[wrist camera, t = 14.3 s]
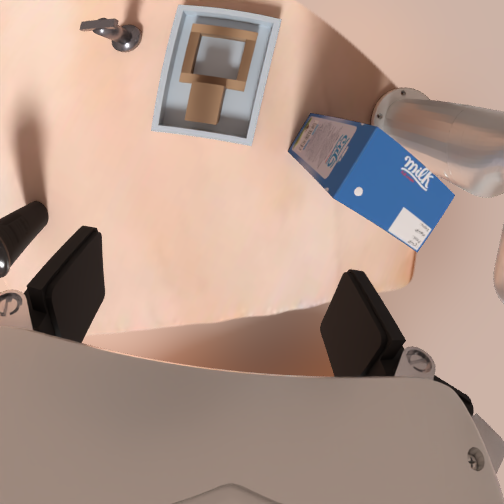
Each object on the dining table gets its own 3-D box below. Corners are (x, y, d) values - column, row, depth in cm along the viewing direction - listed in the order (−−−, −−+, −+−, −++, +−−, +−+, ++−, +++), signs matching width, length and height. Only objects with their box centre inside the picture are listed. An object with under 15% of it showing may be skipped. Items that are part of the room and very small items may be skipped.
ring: (257, 36, 29) (261, 24, 24) (236, 124, 35) (236, 128, 30) (195, 27, 28) (187, 14, 23) (175, 115, 34) (164, 117, 29)
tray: (278, 25, 29) (281, 19, 26) (250, 142, 37) (251, 146, 34) (182, 11, 27) (178, 4, 25) (157, 128, 35) (151, 130, 32)
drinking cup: (16, 204, 38) (-58, 263, 20) (41, 185, 37) (-42, 242, 19) (36, 241, 41) (-29, 309, 24) (61, 225, 41) (-9, 297, 23)
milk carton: (367, 150, 38) (455, 195, 20) (345, 185, 40) (417, 252, 23) (309, 112, 35) (376, 126, 18) (287, 151, 38) (332, 198, 20)
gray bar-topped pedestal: (145, 26, 28) (118, 6, 19) (138, 52, 30) (109, 39, 21) (117, 26, 27) (85, 10, 18) (111, 52, 29) (76, 42, 20)
